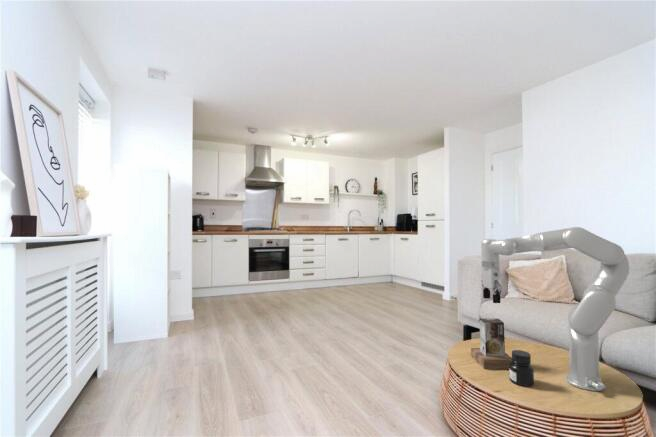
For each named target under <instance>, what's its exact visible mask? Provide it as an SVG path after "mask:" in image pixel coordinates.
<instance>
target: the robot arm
mask: <svg viewBox="0 0 656 437" xmlns="http://www.w3.org/2000/svg"><path fill="white" fill-rule="evenodd" d="M480 248H481V268H482V276H481V278H482V279H481V286H482V297H483V299H491V291H492V293H493V294H492V303H493V304H500V303H501V293H502V288H503V287H502V284H503V283H502V277H501V270H500V255H501V256H506V257H507V256H512V255H515V254H520V253H528V252H541V253H543V252H551V251H559V250H569V249H574V250H576V251H577V252H580V253H582V254H583V255H586V256H588V257H590V258H592V259H594V260H595V261H597V262H599V263H600V267H599V270H597V271H598V272H597V273H596V275H595V277H594V278H593V280H592V281H591V282H590V283H589V285H588V286H587V287H586V288H585V289H584V291H583V293H582V294H583V296H582V298H581V300H580V301H579V303H578V305H576V306H574V307H572V308H571V309H570V310H569V311H568V316H567V320H568V348H569V349H568V352H569V354H568V355H569V373H568V374H565V377H564V378H565V381H566V382H567V383H568V384H570V385H572V386H574V387H576V388H580V389H583V390H586V391H593V392H601V391H603V390H605V389H606V385H605V384H604V383H603V381H602V378H601V377H600V352H599V342H600V341H599V331H600V330H601V328H602V327H603V326H604V324H606V322H607V321H608V319H609V318H610V316H611V315H612V314H613V312H614V310H615V308H616V306H617V300H616V297H617V295H618V293H619V292H620V290H621V288H622V287H623V286H624V283H625V282H626V280H627V279H628V276H629V275H630V274H629V273H630V263H629V260H628V256H627V255H626V254H625V251H624V248H622V246H620V245H618V244H617V243H616V242H612V241H610V240H608V239H607V238H604V237H601V236H598V235H597V234H595V233H593V232H591V231H589V230H587V229H585V228H584V227H580V226H579V227H578V226H574V227H573V226H572V227H568V228H562V229H556V230H555V229H554V230H548V231H543V232H537V233H534V234H530V235H525V236H518V237H511V238H506V239H494V238H493V239H492V238H490V239H489V238H488V239H487V238H486V239H482V240H481V247H480Z"/></svg>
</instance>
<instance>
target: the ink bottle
mask: <svg viewBox="0 0 656 437" xmlns="http://www.w3.org/2000/svg"><path fill="white" fill-rule="evenodd" d="M511 357H512V362H511V363H510V364H509V369H508V370H509V380H510V382H512V384H515V385H517V386H521V387H527V388H528V387H533V386H534V385H535V369H534V367H533V365H531V364H532V363H531V362H532V360H531V359H532V358H531V353H529V352H528V351H526V350H525V351H524V350H520V349H514V350H511Z"/></svg>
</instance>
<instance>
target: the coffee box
mask: <svg viewBox="0 0 656 437" xmlns="http://www.w3.org/2000/svg"><path fill="white" fill-rule="evenodd" d="M479 342H480V347H479V348H480V350H481V352H482V353H483V354H484V355H485V356H505V353H506V344H505V342H506V340H505V322H504V321H503V320H501V319H500V318H479Z"/></svg>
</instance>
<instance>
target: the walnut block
mask: <svg viewBox="0 0 656 437" xmlns="http://www.w3.org/2000/svg"><path fill="white" fill-rule="evenodd" d="M470 349H471V350H470V353H471V354H470V355H471V358H472V359H474V361H476V362H477V363H478V365H480V366H481V367H482V368H483V369H485V370H486V369H487V370H491V369H492V370H509V364H510V363H511V362H512V356H510V355H509V354H508V353H507V352H505V356H485V355H484V354H483V353H482V352H481V350H480V347H477V348H476V347H471V348H470Z"/></svg>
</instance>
